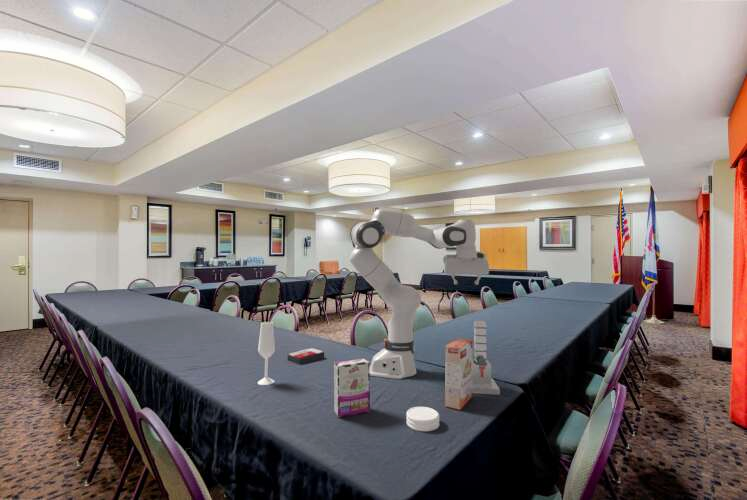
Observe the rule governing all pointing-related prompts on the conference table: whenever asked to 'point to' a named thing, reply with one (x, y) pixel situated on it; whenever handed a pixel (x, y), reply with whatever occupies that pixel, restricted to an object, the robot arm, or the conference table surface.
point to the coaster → (422, 418)
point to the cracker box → (458, 373)
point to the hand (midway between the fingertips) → (466, 284)
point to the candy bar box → (351, 387)
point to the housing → (483, 378)
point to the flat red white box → (306, 356)
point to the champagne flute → (266, 348)
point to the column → (479, 341)
